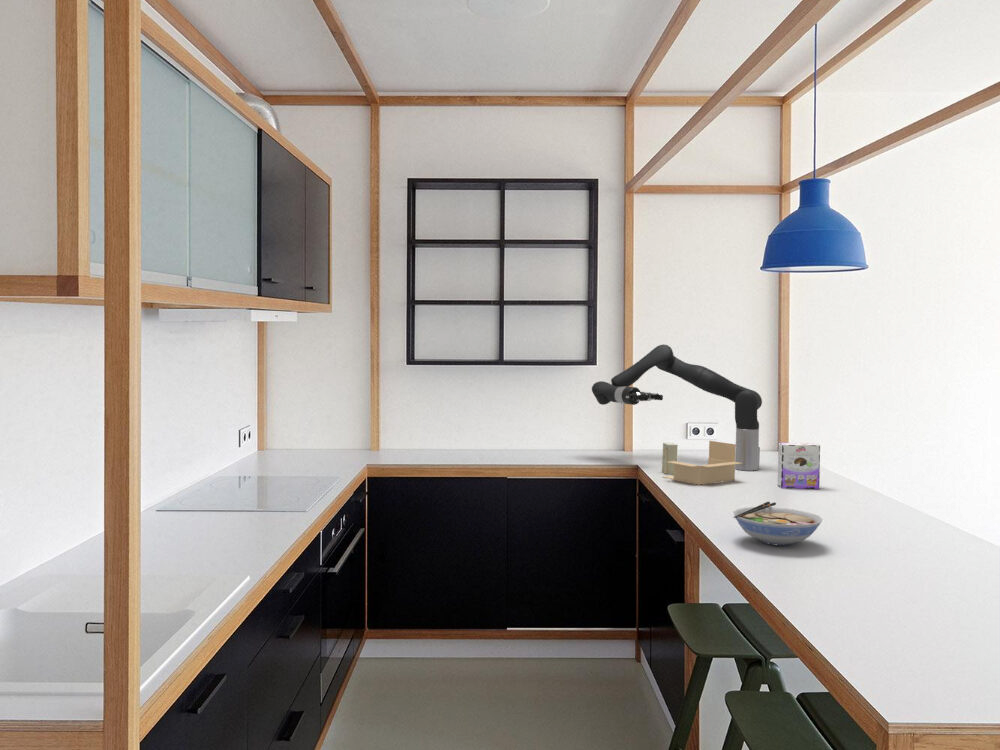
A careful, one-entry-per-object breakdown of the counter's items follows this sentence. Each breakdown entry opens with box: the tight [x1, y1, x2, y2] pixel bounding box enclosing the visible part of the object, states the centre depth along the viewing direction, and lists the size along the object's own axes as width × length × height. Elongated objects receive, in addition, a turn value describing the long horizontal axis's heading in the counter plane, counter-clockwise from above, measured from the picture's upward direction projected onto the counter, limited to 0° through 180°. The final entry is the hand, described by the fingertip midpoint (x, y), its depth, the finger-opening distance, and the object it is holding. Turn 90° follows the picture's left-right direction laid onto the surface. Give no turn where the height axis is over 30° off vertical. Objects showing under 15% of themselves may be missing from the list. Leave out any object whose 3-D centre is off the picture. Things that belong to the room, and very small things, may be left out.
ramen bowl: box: [732, 501, 823, 546], centre depth 219 cm, size 25×23×8 cm
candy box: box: [777, 442, 821, 490], centre depth 302 cm, size 14×6×16 cm, turn 84°
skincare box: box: [661, 442, 678, 475], centre depth 331 cm, size 6×4×12 cm
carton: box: [662, 440, 742, 486], centre depth 315 cm, size 24×23×14 cm
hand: (654, 397), depth 337 cm, fingers open, 8 cm apart
